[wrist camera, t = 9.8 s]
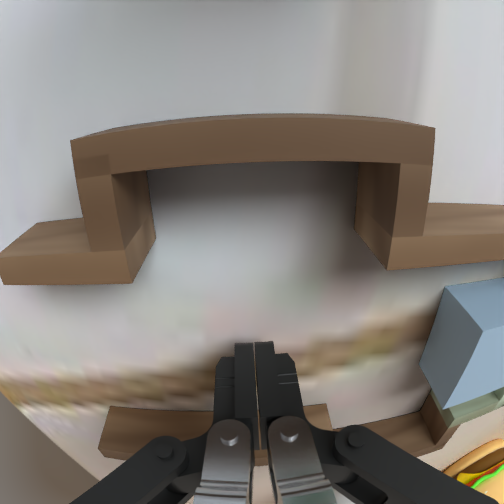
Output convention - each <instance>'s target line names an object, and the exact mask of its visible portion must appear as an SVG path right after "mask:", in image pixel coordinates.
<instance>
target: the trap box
mask: <svg viewBox="0 0 504 504" xmlns="http://www.w3.org/2000/svg"><path fill="white" fill-rule="evenodd" d="M70 142H71V150H72V157H73V164H74V171H75V177H76V183H77V188H78V194H79V199H80V204H81V209H82V214H83V218H76V219H67V220H58V221H49V222H41V223H36V224H35V225H34V226H33V227H31V228H30V229H29V230H27V231H26V232H25V233H24V234H22V235H21V236H20V237H19V238H17V239H16V240H15V241H14V242H12V243H11V244H10V245H9V246H8V247H6V248H5V249H4V250H3V251H2V252H1V253H0V276H1V279H2V282H3V284H4V285H80V284H130V283H133V281H134V279H135V277H136V275H137V273H138V271H139V269H140V267H141V265H142V263H143V262H144V260H145V258H146V256H147V254H148V252H149V250H150V249H151V247H152V245H153V243H154V241H155V239H156V235H155V228H154V222H153V215H152V209H151V202H150V195H149V187H148V179H147V171H146V170H152V169H161V168H172V167H183V166H196V165H210V164H226V163H245V162H274V161H355V162H359V166H358V183H357V198H356V211H355V222H354V230H355V231H356V232H357V233H358V235H359V236H360V237H361V238H362V240H363V241H364V242H365V243H366V245H367V246H368V247H369V248H370V250H371V251H372V252H373V253H374V255H375V256H376V257H377V258H378V260H379V261H380V262H381V264H382V265H383V266H384V267H385V269H386V270H398V269H411V268H423V267H434V266H445V265H456V264H467V263H477V262H487V261H497V260H504V205H487V204H460V203H428V200H429V193H430V185H431V176H432V166H433V155H434V142H435V128H433V127H428V126H424V125H419V124H414V123H409V122H404V121H399V120H393V119H388V118H377V117H365V116H351V115H333V114H242V115H223V116H208V117H196V118H185V119H176V120H167V121H159V122H151V123H144V124H137V125H130V126H124V127H118V128H112V129H109V130H105V131H101V132H97V133H94V134H90V135H87V136H84V137H80V138H77V139H74V140H70ZM502 406H504V387H502V388H499V389H497V390H495V391H492V392H490V393H487V394H485V395H482V396H480V397H477V398H475V399H472V400H469V401H466V402H464V403H461V404H458V405H455V406H452V407H449V408H446V409H442V407H441V405H440V403H439V401H438V399H437V397H436V396H435V394H434V392H433V390H431V392H430V393H429V395H428V397H427V399H426V401H425V403H424V405H423V406H422V408H421V410H420V411H418V412H414V413H411V414H407V415H403V416H399V417H395V418H390V419H386V420H381V421H377V422H372V423H367V424H362V425H361V426H364V427H367V428H369V429H370V430H372V431H373V432H375V433H376V434H378V435H380V436H381V437H383V438H385V439H386V440H388V441H389V442H391V443H393V444H394V445H396V446H398V447H399V448H401V449H403V450H404V451H406V452H408V453H409V454H411V455H413V456H414V457H419V456H422V455H425V454H428V453H431V452H434V451H437V450H440V449H442V448H443V447H444V445H445V444H446V443H447V442H448V440H449V439H450V438H451V436H452V435H453V434H454V432H455V431H456V430H457V428H458V427H459V426H460V424H462V423H464V422H467V421H470V420H472V419H475V418H477V417H479V416H482V415H484V414H486V413H489V412H491V411H493V410H496V409H498V408H500V407H502ZM303 409H304V414H305V417H306V419H307V420H308V421H309V422H310V423H311V424H312V425H313V426H315V427H317V428H320V429H323V430H330V431H338V432H339V431H340V430H342V429H343V428H339V429H332V425H331V421H330V417H329V413H328V409H327V405H326V404H320V405H311V406H303ZM257 411H258V428H259V447H260V450H254V454H255V466H264V465H268V455H267V449H265V450H261V436H260V422H259V410H257ZM213 412H214V411H166V410H148V409H135V408H124V407H114V406H110V409H109V412H108V415H107V419H106V422H105V425H104V428H103V432H102V435H101V439H100V442H99V446H98V449H99V451H100V452H101V453H102V454H103V455H104V457H108V458H114V459H120V460H128V459H129V458H130V457H131V456H133V455H134V454H135V453H136V452H138V451H139V450H140V449H141V448H143V447H144V446H145V445H146V444H147V443H149V442H150V441H151V440H152V439H154V438H156V437H159V436H172V437H175V438H177V439H179V440H180V441H185V440H189V439H193V438H196V437H199V436H201V435H203V434H204V433H206V432H207V431H208V430H209V428H210V427H211V425H212V422H213Z"/></svg>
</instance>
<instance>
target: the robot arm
mask: <svg viewBox="0 0 504 504" xmlns="http://www.w3.org/2000/svg"><path fill="white" fill-rule="evenodd" d="M255 361H256V379H257V394H258V408H259V422H260V436H261V450H265V449H267V455H268V470H269V475H270V481H271V486H272V492H273V497H274V503H275V504H337V501H336V498H335V495H334V491H333V488H334V489H335V490H336V491H338V492H339V493H340V494H342V495H343V496H345V497H346V498H348V499H349V500H351V501H352V502H353V503H355V504H499V503H498V501H496V500H495V499H493V498H491V497H489V496H487V495H485V494H483V493H481V492H479V491H477V490H475V489H473V488H471V487H469V486H467V485H465V484H463V483H461V482H459V481H458V480H456V479H454V478H452V477H450V476H448V475H446V474H445V473H443V472H441V471H439V470H437V469H435V468H434V467H432V466H430V465H428V464H427V463H425V462H423V461H421V460H420V459H418V458H416V457H414V456H413V455H411V454H409V453H408V452H406V451H404V450H403V449H401V448H399V447H398V446H396V445H394V444H393V443H391V442H389V441H388V440H386V439H385V438H383V437H381V436H380V435H378V434H376V433H375V432H373V431H372V430H370V429H369V428H367V427H364V426H361V425H350V426H347V427H345V428H343V429H342V430H340V431H339V432H338V431H330V430H323V429H320V428H317V427H315V426H313V425H312V424H311V423H310V422H309V421H308V420H307V419H306V417H305V414H304V409H303V404H302V399H301V393H300V388H299V383H298V378H297V374H296V368H295V363H294V361H293V360H292V358H291V357H290V356H289V355H288V353H283V354H275V351H274V344H273V341H268V342H255ZM254 450H260V447H259V428H258V411H257V396H256V381H255V366H254V350H253V343H235V357H222V358H221V359H220V361H219V363H218V364H217V366H216V375H215V393H214V412H213V422H212V425H211V427H210V428H209V430H208V431H207V432H206V433H204V434H203V435H201V436H199V437H196V438H193V439H189V440H185V441H180V440H179V439H177V438H175V437H172V436H159V437H156V438H154V439H152V440H151V441H150V442H149V443H147V444H146V445H145V446H144V447H143V448H141V449H140V450H139V451H138V452H136V453H135V454H134V455H133V456H131V457H130V458H129V459H128V460H126V461H125V462H124V463H123V464H121V465H120V466H119V467H118V468H116V469H115V470H114V471H113V472H111V473H110V474H109V475H107V476H106V477H105V478H103V479H102V480H101V481H100V482H98V483H97V484H96V485H94V486H93V487H92V488H90V489H89V490H88V491H86V492H85V493H83V494H82V495H81V496H79V497H78V498H77V499H75V500H74V501H72V502H71V503H70V504H185V503H186V502H187V501H188V500H189V499H190V498H191V497H192V496H193V495H194V502H193V504H252V498H253V473H254V466H255V454H254Z"/></svg>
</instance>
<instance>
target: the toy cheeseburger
mask: <svg viewBox="0 0 504 504" xmlns="http://www.w3.org/2000/svg"><path fill="white" fill-rule="evenodd" d="M443 473H445V474H446V475H448V476H450V477H452V478H454V479H456V480H458V481H459V482H461V483H463V484H465V485H467V486H469V487H471V488H473V489H475V490H477V491H479V492H481V493H483V494H485V495H487V496H489V497H491V498H493V499H495V500H496V501H498V503H499V504H504V440H502V439H497V440H493V441H490V442H488V443H486V444H484V445H482V446H480V447H478V448H477V449H475V450H473V451H472V452H470V453H469V454H467V455H465V456H464V457H462V458H461V459H459V460H458V461H457V462H455V463H454V464H453V465H451V466H450V467H449V468H448V469H446V470H445V471H444V472H443Z"/></svg>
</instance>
